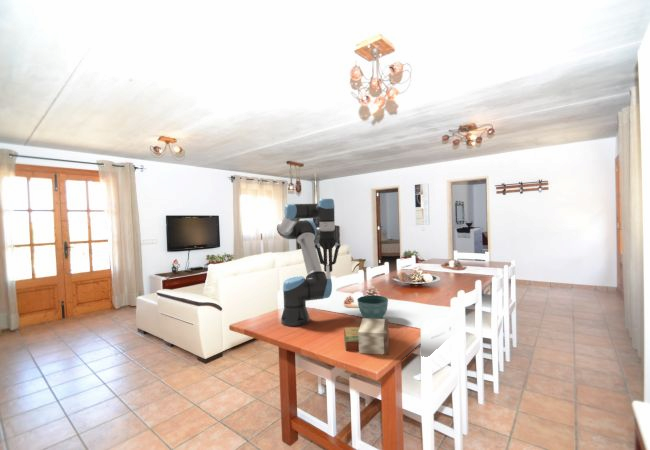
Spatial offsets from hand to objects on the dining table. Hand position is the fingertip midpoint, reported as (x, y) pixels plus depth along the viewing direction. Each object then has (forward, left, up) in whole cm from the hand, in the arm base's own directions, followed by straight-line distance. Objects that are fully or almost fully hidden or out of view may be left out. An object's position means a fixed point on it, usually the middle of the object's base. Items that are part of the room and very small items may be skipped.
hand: (328, 278), depth 148 cm
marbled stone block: (+22, -16, -25) cm, 37 cm away
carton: (+13, -14, -26) cm, 32 cm away
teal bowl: (+20, +17, -26) cm, 37 cm away
